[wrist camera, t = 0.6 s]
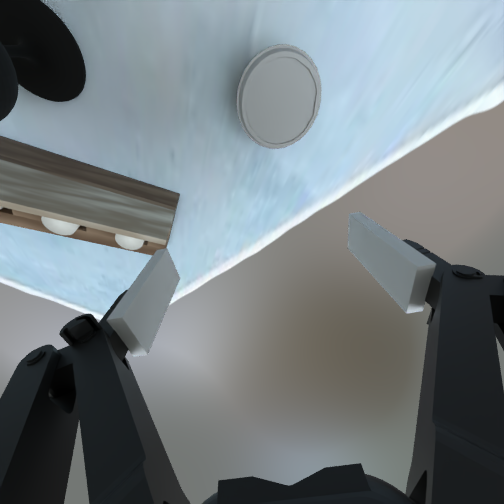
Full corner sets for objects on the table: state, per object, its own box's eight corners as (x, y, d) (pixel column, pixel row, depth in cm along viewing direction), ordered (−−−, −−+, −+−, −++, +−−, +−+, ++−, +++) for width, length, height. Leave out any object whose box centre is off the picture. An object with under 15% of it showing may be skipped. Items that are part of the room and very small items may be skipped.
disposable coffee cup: (274, 137, 36) (291, 165, 28) (222, 107, 33) (222, 127, 24) (309, 73, 31) (344, 81, 22) (251, 27, 27) (266, 16, 18)
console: (-53, 118, 30) (-194, 152, 20) (179, 194, 41) (166, 240, 31) (-23, 192, 37) (-115, 244, 27) (168, 239, 48) (154, 289, 38)
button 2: (123, 214, 38) (115, 227, 35) (150, 221, 40) (144, 234, 37) (122, 232, 41) (114, 246, 38) (147, 238, 42) (141, 252, 39)
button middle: (54, 195, 34) (38, 208, 32) (86, 204, 36) (74, 217, 33) (57, 217, 37) (43, 231, 34) (87, 224, 39) (76, 238, 36)
